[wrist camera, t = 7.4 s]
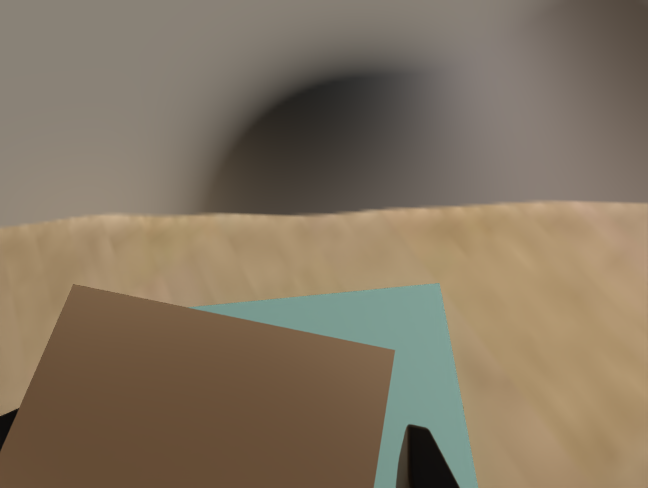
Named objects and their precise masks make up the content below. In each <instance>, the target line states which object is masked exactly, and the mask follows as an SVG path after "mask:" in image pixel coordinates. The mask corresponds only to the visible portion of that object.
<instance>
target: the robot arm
mask: <svg viewBox="0 0 648 488" xmlns="http://www.w3.org/2000/svg"><path fill="white" fill-rule="evenodd" d="M18 410H19V408H18V409H16V410H13V411H11V412H9V413H7V414H4V415H2V416H0V451H1V449H2V447H3V444H4V442H5V440H6V437H7V435H8V433H9V431H10V428H11V426H12V424H13V421H14V419H15V417H16V415H17V412H18ZM396 488H460V487H459V485H458V483H457V481H456V479H455V477H454V475H453V473H452V471H451V470H450V468H449V466H448V464H447V462H446V460H445V458H444V456H443V454H442V452H441V451H440V449H439V447H438V445H437V443H436V441H435V439H434V437H433V435H432V433H431V432H430V430H429V429H428V428H426V427H422V426H418V425H413V424H408V425H407V427H406V430H405V434H404V438H403V442H402V447H401V451H400V455H399V461H398V469H397V479H396Z"/></svg>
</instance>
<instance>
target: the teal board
mask: <svg viewBox="0 0 648 488" xmlns="http://www.w3.org/2000/svg"><path fill="white" fill-rule="evenodd" d="M187 308H192V309H197V310H202V311H207V312H212V313H216V314H221V315H226V316H231V317H236V318H241V319H246V320H251V321H255V322H260V323H265V324H270V325H275V326H280V327H285V328H290V329H294V330H299V331H304V332H309V333H314V334H319V335H324V336H329V337H334V338H338V339H343V340H348V341H353V342H358V343H363V344H368V345H373V346H377V347H382V348H387V349H392V350H395V355H394V361H393V368H392V374H391V380H390V387H389V393H388V400H387V406H386V413H385V419H384V425H383V432H382V438H381V445H380V451H379V457H378V464H377V470H376V477H375V483H374V488H396V479H397V469H398V461H399V455H400V451H401V447H402V442H403V438H404V434H405V430H406V427H407V425H408V424H413V425H418V426H422V427H426V428H428V429H429V430H430V432H431V433H432V435H433V437H434V439H435V441H436V443H437V445H438V447H439V449H440V451H441V452H442V454H443V456H444V458H445V460H446V462H447V464H448V466H449V468H450V470H451V471H452V473H453V475H454V477H455V479H456V481H457V483H458V485H459V487H460V488H478V484H477V479H476V474H475V468H474V463H473V458H472V453H471V447H470V442H469V437H468V431H467V426H466V421H465V416H464V410H463V405H462V400H461V394H460V389H459V384H458V379H457V373H456V368H455V363H454V358H453V352H452V347H451V342H450V336H449V331H448V326H447V321H446V315H445V310H444V305H443V299H442V294H441V289H440V284H439V283H436V284H425V285H415V286H405V287H394V288H384V289H374V290H363V291H353V292H343V293H332V294H322V295H312V296H301V297H291V298H280V299H270V300H260V301H249V302H239V303H229V304H218V305H208V306H198V307H187Z"/></svg>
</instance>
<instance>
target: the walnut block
mask: <svg viewBox="0 0 648 488" xmlns="http://www.w3.org/2000/svg"><path fill="white" fill-rule="evenodd" d="M394 355H395V350H392V349H387V348H382V347H377V346H373V345H368V344H363V343H358V342H353V341H348V340H343V339H338V338H334V337H329V336H324V335H319V334H314V333H309V332H304V331H299V330H294V329H290V328H285V327H280V326H275V325H270V324H265V323H260V322H255V321H251V320H246V319H241V318H236V317H231V316H226V315H221V314H216V313H212V312H207V311H202V310H197V309H192V308H187V307H182V306H177V305H173V304H168V303H163V302H158V301H153V300H148V299H143V298H138V297H133V296H129V295H124V294H119V293H114V292H109V291H104V290H99V289H94V288H90V287H85V286H80V285H75V284H73V286H72V289H71V291H70V293H69V296H68V298H67V300H66V302H65V305H64V307H63V309H62V312H61V314H60V316H59V318H58V321H57V323H56V325H55V328H54V330H53V332H52V334H51V337H50V339H49V341H48V344H47V346H46V348H45V350H44V353H43V355H42V357H41V360H40V362H39V364H38V366H37V369H36V371H35V373H34V376H33V378H32V380H31V382H30V385H29V387H28V389H27V392H26V394H25V396H24V399H23V401H22V403H21V405H20V408H19V410H18V412H17V415H16V417H15V419H14V421H13V424H12V426H11V428H10V431H9V433H8V435H7V437H6V440H5V442H4V444H3V447H2V449H1V451H0V488H374V483H375V477H376V470H377V464H378V457H379V451H380V445H381V438H382V432H383V425H384V419H385V413H386V406H387V400H388V393H389V387H390V380H391V374H392V368H393V361H394Z"/></svg>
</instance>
